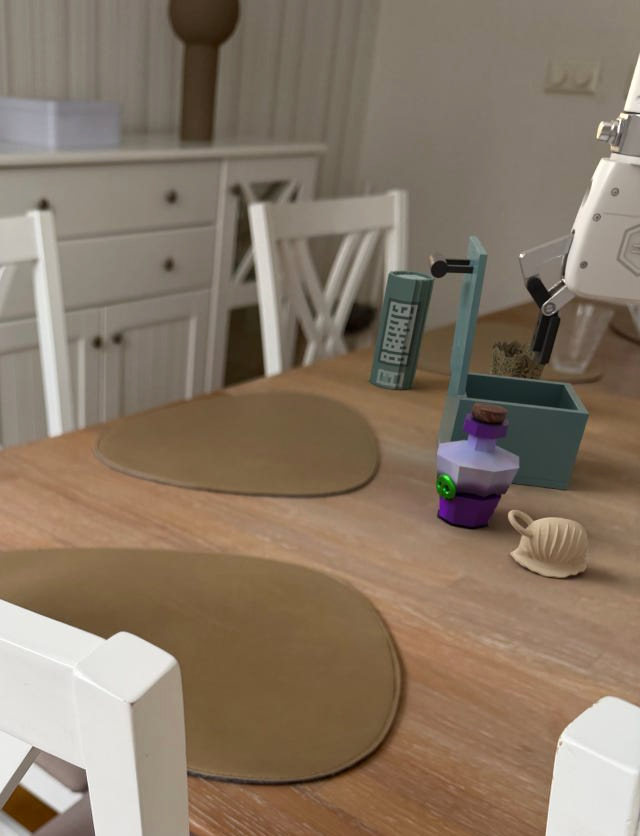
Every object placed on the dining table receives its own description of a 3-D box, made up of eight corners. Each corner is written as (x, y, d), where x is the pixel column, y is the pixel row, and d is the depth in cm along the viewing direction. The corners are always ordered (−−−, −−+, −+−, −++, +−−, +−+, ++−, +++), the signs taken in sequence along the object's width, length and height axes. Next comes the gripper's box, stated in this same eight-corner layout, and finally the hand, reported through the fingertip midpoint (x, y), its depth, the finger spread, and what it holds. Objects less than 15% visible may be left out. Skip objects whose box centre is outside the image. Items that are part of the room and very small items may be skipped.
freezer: (550, 454, 120) (570, 383, 116) (566, 490, 111) (589, 413, 106) (436, 440, 122) (452, 370, 117) (442, 474, 112) (459, 398, 108)
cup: (469, 401, 137) (483, 343, 133) (497, 392, 141) (511, 336, 137) (517, 416, 132) (533, 357, 128) (544, 407, 137) (560, 349, 133)
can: (415, 380, 144) (436, 274, 136) (409, 392, 139) (431, 282, 131) (374, 374, 146) (393, 268, 138) (366, 384, 141) (386, 276, 133)
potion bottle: (406, 516, 102) (430, 403, 95) (443, 494, 107) (468, 386, 101) (484, 543, 97) (515, 427, 91) (518, 519, 103) (549, 408, 97)
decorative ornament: (587, 584, 91) (605, 531, 88) (495, 568, 92) (509, 516, 90) (583, 565, 94) (600, 514, 91) (494, 550, 96) (507, 500, 93)
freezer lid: (477, 236, 110) (429, 234, 110) (487, 254, 100) (435, 252, 101) (456, 366, 117) (411, 364, 118) (464, 395, 107) (416, 392, 108)
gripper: (558, 136, 72) (500, 367, 81) (806, 159, 70) (718, 393, 79) (543, 130, 79) (490, 344, 88) (769, 151, 77) (691, 368, 86)
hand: (598, 367), depth 83 cm, fingers open, 9 cm apart
